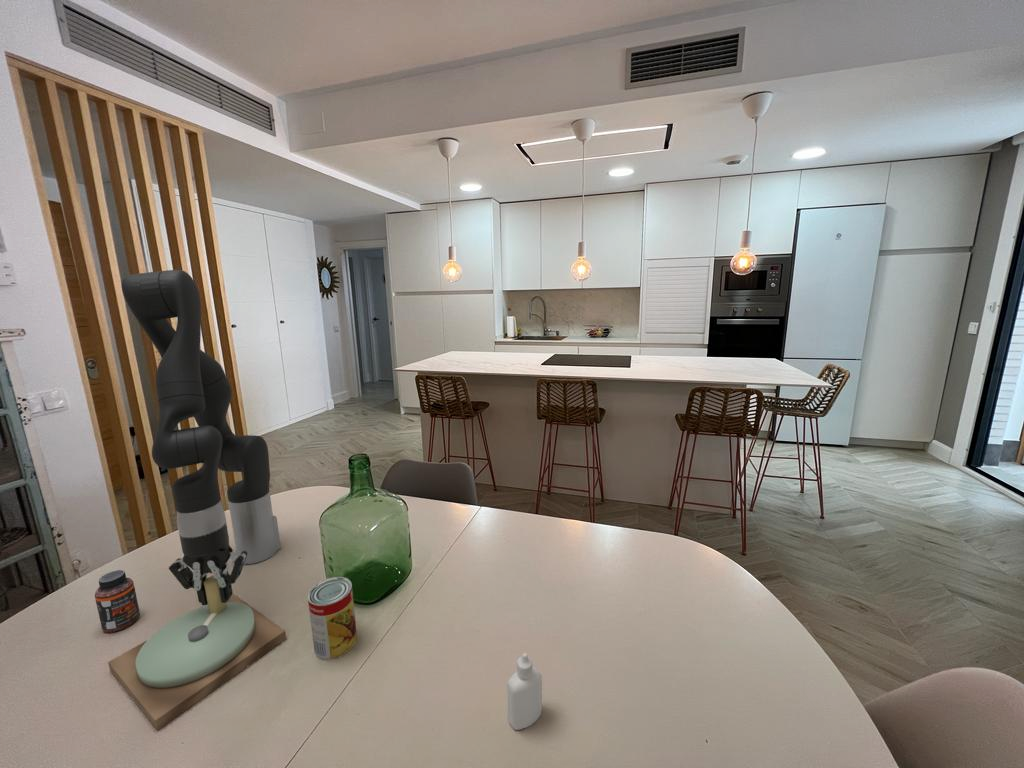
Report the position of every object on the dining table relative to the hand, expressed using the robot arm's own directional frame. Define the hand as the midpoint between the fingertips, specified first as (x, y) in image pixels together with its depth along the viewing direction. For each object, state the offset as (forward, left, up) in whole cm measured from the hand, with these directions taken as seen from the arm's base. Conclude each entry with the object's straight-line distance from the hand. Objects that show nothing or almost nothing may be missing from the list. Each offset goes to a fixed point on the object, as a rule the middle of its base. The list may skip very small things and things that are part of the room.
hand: (216, 600), depth 85 cm
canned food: (-10, +25, -6) cm, 27 cm away
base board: (+5, +5, -6) cm, 9 cm away
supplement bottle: (+10, -19, -6) cm, 23 cm away
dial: (+5, +5, -4) cm, 8 cm away
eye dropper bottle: (-16, +64, -6) cm, 66 cm away
